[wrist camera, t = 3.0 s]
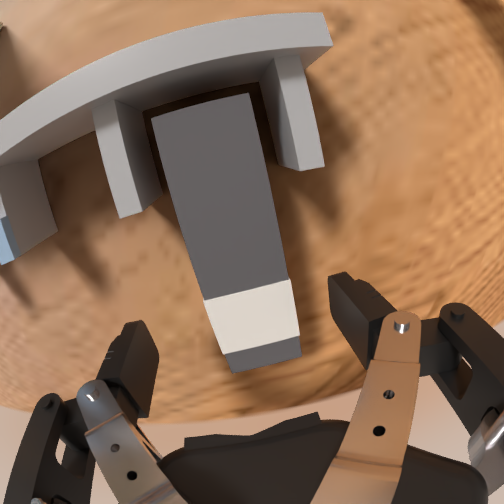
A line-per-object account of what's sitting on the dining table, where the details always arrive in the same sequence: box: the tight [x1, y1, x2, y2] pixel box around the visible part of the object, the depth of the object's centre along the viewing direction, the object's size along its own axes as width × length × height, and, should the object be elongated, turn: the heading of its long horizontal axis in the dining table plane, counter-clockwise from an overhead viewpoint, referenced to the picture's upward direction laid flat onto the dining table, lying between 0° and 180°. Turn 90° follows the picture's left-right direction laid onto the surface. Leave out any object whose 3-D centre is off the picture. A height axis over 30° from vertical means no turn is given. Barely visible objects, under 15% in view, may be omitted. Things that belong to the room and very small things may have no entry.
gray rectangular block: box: [151, 93, 302, 373], centre depth 13 cm, size 12×4×4 cm, turn 13°
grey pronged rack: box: [0, 13, 333, 265], centre depth 10 cm, size 24×6×6 cm, turn 103°
